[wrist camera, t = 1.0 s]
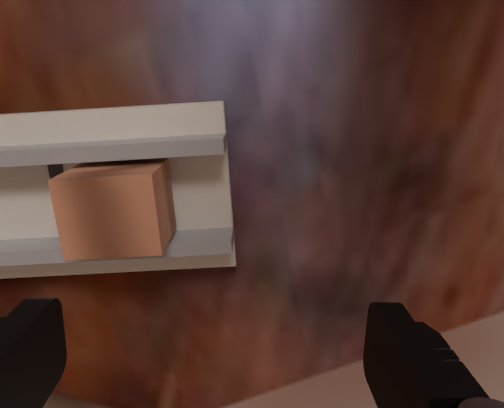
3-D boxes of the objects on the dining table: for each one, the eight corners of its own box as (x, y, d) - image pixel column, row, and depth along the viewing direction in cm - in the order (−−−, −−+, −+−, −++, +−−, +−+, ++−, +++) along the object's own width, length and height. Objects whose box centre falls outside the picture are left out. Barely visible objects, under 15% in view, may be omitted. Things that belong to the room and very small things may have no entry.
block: (168, 157, 29) (151, 174, 24) (176, 226, 31) (162, 255, 26) (81, 163, 29) (47, 180, 25) (93, 231, 31) (63, 260, 26)
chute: (224, 100, 29) (218, 105, 25) (236, 260, 33) (233, 292, 28) (-147, 123, 30) (-222, 132, 25) (-96, 278, 34) (-154, 312, 29)
